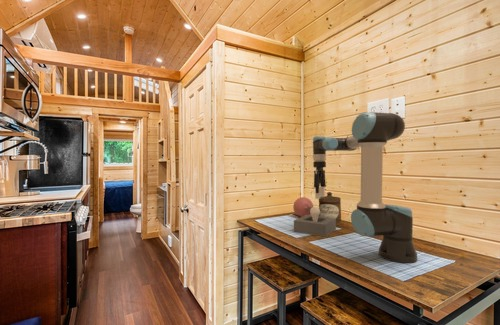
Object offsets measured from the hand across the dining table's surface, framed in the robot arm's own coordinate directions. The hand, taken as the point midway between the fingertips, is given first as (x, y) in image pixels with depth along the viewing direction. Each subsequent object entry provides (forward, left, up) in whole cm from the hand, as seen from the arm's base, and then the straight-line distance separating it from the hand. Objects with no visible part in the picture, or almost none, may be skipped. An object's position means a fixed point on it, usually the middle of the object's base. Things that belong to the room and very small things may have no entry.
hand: (320, 197), depth 159 cm
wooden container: (+23, +1, -21) cm, 31 cm away
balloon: (+31, +23, -21) cm, 44 cm away
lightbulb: (0, +3, -17) cm, 17 cm away
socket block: (0, +3, -21) cm, 21 cm away
